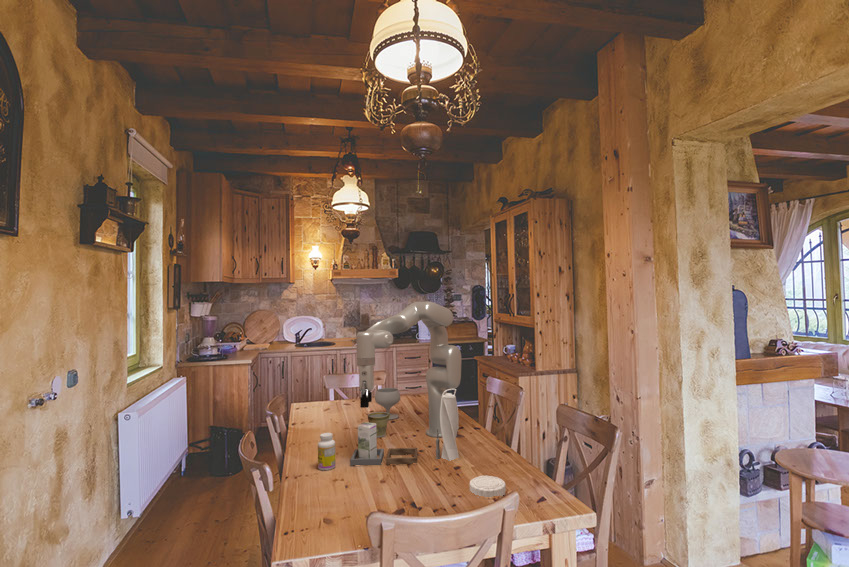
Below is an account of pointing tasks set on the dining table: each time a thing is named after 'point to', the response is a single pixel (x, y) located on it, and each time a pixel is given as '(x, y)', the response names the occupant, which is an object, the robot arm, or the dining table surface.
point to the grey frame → (367, 459)
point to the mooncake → (487, 486)
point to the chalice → (388, 399)
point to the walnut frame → (401, 452)
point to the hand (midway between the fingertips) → (366, 404)
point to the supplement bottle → (326, 452)
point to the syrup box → (367, 440)
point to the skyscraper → (448, 427)
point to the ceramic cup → (379, 422)
